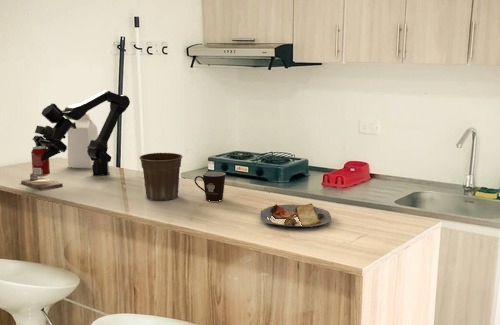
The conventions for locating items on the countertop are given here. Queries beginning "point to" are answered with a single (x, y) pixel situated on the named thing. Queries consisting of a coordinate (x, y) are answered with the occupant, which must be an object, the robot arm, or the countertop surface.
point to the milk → (81, 142)
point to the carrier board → (41, 183)
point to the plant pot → (161, 175)
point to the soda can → (39, 162)
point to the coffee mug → (213, 185)
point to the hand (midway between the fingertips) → (37, 159)
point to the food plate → (305, 214)
